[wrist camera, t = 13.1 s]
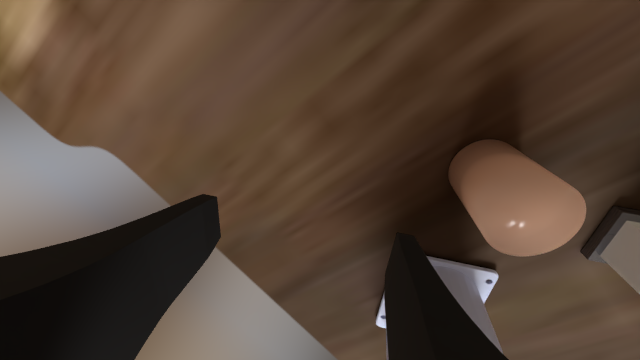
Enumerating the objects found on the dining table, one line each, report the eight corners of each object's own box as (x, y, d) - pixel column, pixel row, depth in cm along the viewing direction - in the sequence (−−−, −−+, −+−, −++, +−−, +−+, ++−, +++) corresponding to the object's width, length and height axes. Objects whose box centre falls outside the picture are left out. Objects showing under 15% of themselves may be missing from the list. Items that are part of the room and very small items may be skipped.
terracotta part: (524, 187, 19) (589, 244, 13) (456, 205, 20) (490, 264, 15) (513, 129, 17) (583, 166, 12) (441, 153, 18) (473, 196, 13)
